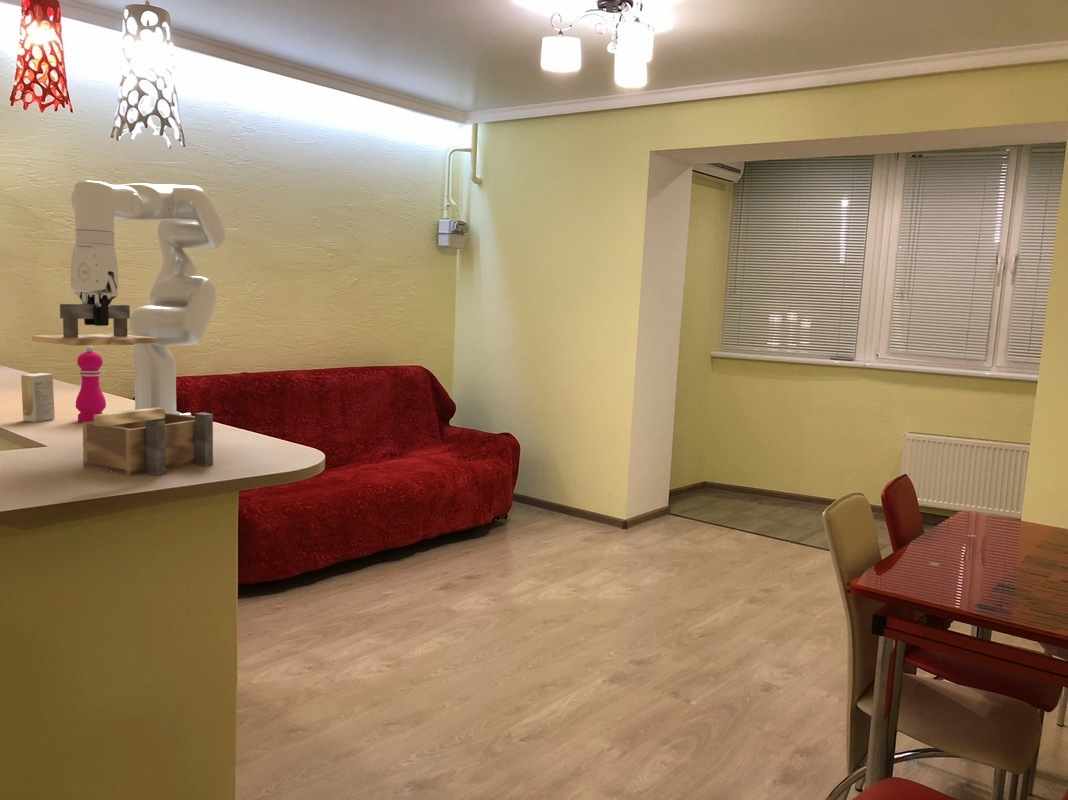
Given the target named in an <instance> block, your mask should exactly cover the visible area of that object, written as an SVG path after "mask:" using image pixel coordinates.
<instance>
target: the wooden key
mask: <svg viewBox="0 0 1068 800" xmlns="http://www.w3.org/2000/svg"><path fill="white" fill-rule="evenodd" d="M163 418H165V408H160V407H156V408H147V409H139V410H135V409H132V410H131V409H130V410H123V411H114V412H106V413H105V412H104V413H103V414H95V415H94V426H101V427H102V426H109V425H117V424H125V423H133V422H140V421H148V420H156V419H163Z"/></svg>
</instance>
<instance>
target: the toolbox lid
mask: <svg viewBox="0 0 1068 800" xmlns="http://www.w3.org/2000/svg"><path fill="white" fill-rule="evenodd" d="M94 307H96V304H82V303H79V304H78V303H59V318H60V319H62V327H63V328H62V330H63V331H62V332H63V333H62V334H55V335H54V334H49V335H43V334H42V335H31V342H35V343H36V342H37V343H43V344H44V343H45V344H52V345H53V344H56V345H66V346H75V347H77V346H78V347H79V346H80V347H81V346H101V345H103V346H104V345H105V346H107V345H110V346H131V345H132V346H133V345H134V344H140V343H157V338H156V337H145V336H134V335H130V334H128V319H129V320H130V316H131V313H130V312H131V311H130V304H110V307H109V308H108V313H109V320H110V319H111V320H112V319H113V321H112V322H113V333H95V334H91V333H89V334H79V319H80V320H84V319H94Z"/></svg>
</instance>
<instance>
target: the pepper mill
mask: <svg viewBox="0 0 1068 800" xmlns="http://www.w3.org/2000/svg"><path fill="white" fill-rule="evenodd" d="M85 350H86V351H85V352H84V351H83V352H81V353H80V354H79V355H78V357H77V359H76V361H77V366H78V367H79V369H80V370H79V376H81V386H80V390H79V392H78V395H77V396H76V401H75V408H76V410H78V412H79V414H77V421H78V422H79V423H83V422H92V421H94V415H95V414H104V413H102V412H103V411H104V410H105V409H106V407H107V402H106V398H105V396H104V394H103V391H102V389H101V385H100V376H101V375H102V373H101V371H102V370H100V368H102V366H103V363H104V361H103V357H102V356H101V354H99V353H98V352H95V351H94V350H95V349H94V347H93V345H86V348H85Z"/></svg>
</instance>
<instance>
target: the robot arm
mask: <svg viewBox="0 0 1068 800" xmlns="http://www.w3.org/2000/svg"><path fill="white" fill-rule="evenodd" d="M73 187H74V188H73V191H72V194H71V198H70V199H71V200H70V201H71V206H72V208H73V210H74V235H75V236H74V237H75V239H74V240H75V241H74V243H75V244H74V246H73V249H72V254H71V255H72V256H71V262H70V263H71V264H70V288H71V290H72V291H73V292H74V295H76V296H77V297H78V298H79V299H80V301H81V304H96V307H94V319H83V320H84V321H83V323H84V325H85V326H95V327H106V326H109V325H110V324H109V321H110V319H109V313H108V308H109V307H110V305H111V302H112V301H113V300H114V299H116V298H117V297H118V296H119V295H118V289H119V271H118V261H117V253H116V249H115V221H116V220H117V221H118V220H119V221H128V220H129V221H130V220H133V221H151V220H152V221H153V220H154V221H155V220H159V222H158V225H157V237H158V243H159V246H160V247H159V248H160V251H161V256H162V264H161V266H160V269H159V271H158V273H157V276H156V277H155V279H154V282H153V284H152V286H151V289H150V292H149V302H150V304H151V305H142V306H139V307H137V308H135V309H133V311H132V313H130V319H129V321H128V322H129V323H128V324H129V331H130V334H131V335H134V336H145V337H156V338H157V343H140V344H134V345H132V346H133V357H134V410H139V409H147V408H156V407H160V408H165V412H166V413H173V414H180V415H187V416H192V414H191V412H185V413H181V412H180V411H177V365H176V363H177V362H176V358H175V357H174V354H173V353H172V351H171V350H170V348H169V347H168V346H167V345H170V346H172V345H173V346H193V345H197V344H199V343H200V342H201V340H202V339H203V337H204V335H205V332H206V330H207V327H208V325H209V323H210V320H211V318H212V315H213V312H214V310H215V307H216V304H217V303H216V302H217V289H216V286H215V284H214V282H213V281H212V280H211V279H209V278H208V277H205V276H197V273H198V272H197V266H196V263H195V262H194V260H193V259H192V257H191V256H190V255H189V254H188V253H187V252H186V250H185V249H201V250H203V249H206V250H213V249H214V250H215V249H218V248H220V247H221V246H222V245H223V244H224V242H225V239H226V229H225V226H224V223H223V221H222V218H221V216H220V214H219V213H218V211H217V209H216V207H215V205H214V203H213V201H212V200H211V198H210V196H209V194H207V193H206V191H205V190H204V189H203V188H202V187H199V186H197V185H185V184H184V185H183V184H182V185H181V184H162V183H161V184H156V183H125V184H124V183H123V184H110V183H107V182H103V181H97V180H80V181H79V180H78V181H76V182H75V184H74V186H73Z"/></svg>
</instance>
